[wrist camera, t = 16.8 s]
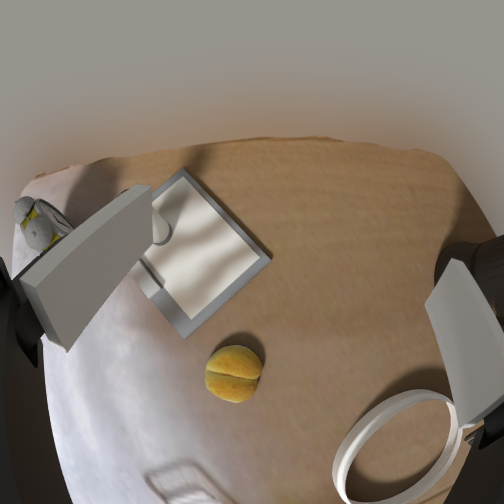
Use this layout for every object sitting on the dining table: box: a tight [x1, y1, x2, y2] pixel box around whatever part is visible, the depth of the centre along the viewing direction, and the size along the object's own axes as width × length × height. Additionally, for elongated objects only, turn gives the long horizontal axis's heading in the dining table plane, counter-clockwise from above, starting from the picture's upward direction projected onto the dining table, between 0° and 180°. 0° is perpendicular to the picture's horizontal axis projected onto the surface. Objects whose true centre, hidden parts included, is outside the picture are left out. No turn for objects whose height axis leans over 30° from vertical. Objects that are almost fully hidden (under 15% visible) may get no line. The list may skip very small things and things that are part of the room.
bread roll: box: [205, 345, 262, 403], centre depth 38 cm, size 8×9×4 cm
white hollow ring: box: [332, 389, 462, 504], centre depth 34 cm, size 27×27×6 cm
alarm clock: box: [13, 196, 76, 254], centre depth 36 cm, size 12×7×15 cm, turn 50°
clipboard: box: [129, 168, 271, 339], centre depth 43 cm, size 22×18×2 cm
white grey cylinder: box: [117, 189, 172, 246], centre depth 37 cm, size 4×4×13 cm
